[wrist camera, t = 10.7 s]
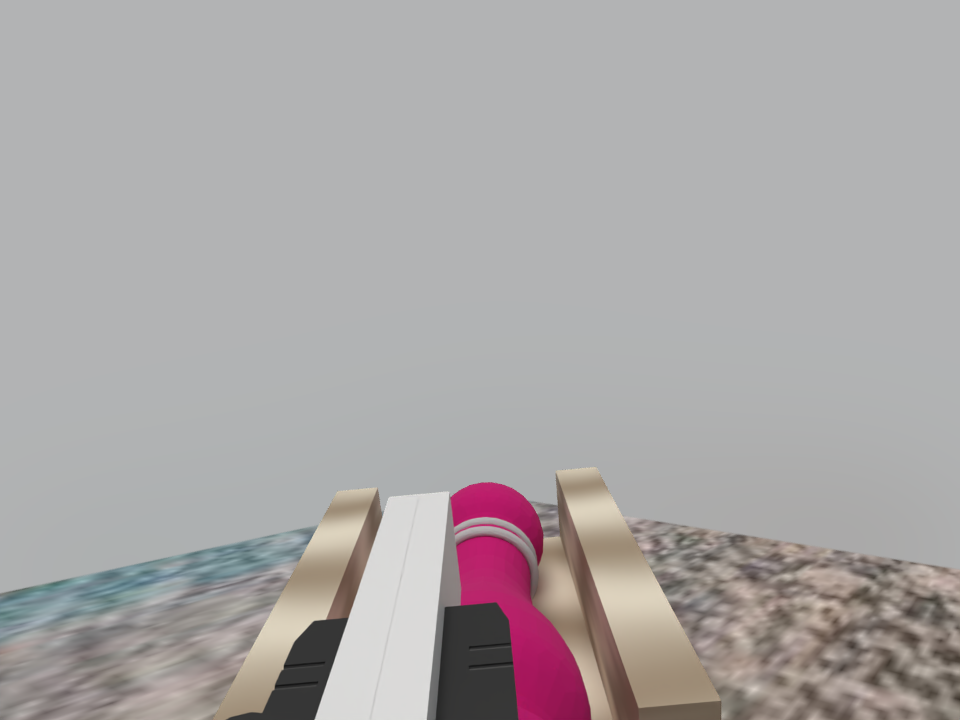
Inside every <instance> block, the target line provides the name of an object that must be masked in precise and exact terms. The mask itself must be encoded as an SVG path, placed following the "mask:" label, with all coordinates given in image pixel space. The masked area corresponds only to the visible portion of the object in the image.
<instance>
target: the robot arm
mask: <svg viewBox="0 0 960 720" xmlns="http://www.w3.org/2000/svg"><path fill="white" fill-rule="evenodd" d="M460 605H461V583H460V575H459V566H458V558H457V550H456V541H455V533H454V524H453V516H452V508H451V499H450V492H449V491H448V492H437V493H428V494H416V495H406V496H395V497H389V499H388V502H387V505H386V508H385V511H384V514H383V517H382V520H381V523H380V526H379V529H378V532H377V535H376V538H375V541H374V544H373V547H372V550H371V553H370V556H369V559H368V562H367V565H366V568H365V571H364V574H363V577H362V580H361V583H360V586H359V589H358V592H357V595H356V598H355V601H354V604H353V607H352V610H351V613H350V616H349V618H339V619H328V620H317V621H313V622H312V623H311V624H310V625H309V627H308V628H307V629H306V630H305V631H304V632H303V633H302V634H301V635H300V636H299V637H298V638H297V639H296V640H295V641H294V643H293V645H292V648H291V650H290V652H289V654H288V657H287V659H286V661H285V663H284V669H283V670H281V672H280V674H279V677H278V679H277V681H276V683H275V689H274V690H272V692H271V694H270V697H269V699H268V701H267V703H266V705H265V708H264V710H263V712H262V713H257V712H249V713H245V714H241V715H237V716H233V717H230V718H228V719H226V720H519V718H518V707H517V696H516V686H515V675H514V665H513V655H512V645H511V635H510V624H509V619H508V618H507V616H506V615H505V614H504V612H503V611H502V609H501V608H500V606H499V605H498V604H497V602H493V603H482V604H472V605H461V606H460Z"/></svg>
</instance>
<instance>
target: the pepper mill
mask: <svg viewBox="0 0 960 720" xmlns="http://www.w3.org/2000/svg"><path fill="white" fill-rule="evenodd" d="M450 499H451V508H452V516H453V524H454V533H455V541H456V550H457V558H458V566H459V575H460V583H461V605H472V604H482V603H493V602H497V604H498V605H499V606H500V608H501V609H502V611H503V612H504V614H505V615H506V616H507V618H508V619H509V624H510V635H511V645H512V655H513V665H514V675H515V686H516V696H517V707H518V718H519V720H591V708H590V704H589V699H588V695H587V692H586V688H585V685H584V682H583V679H582V676H581V672H580V669H579V667H578V665H577V662H576V660H575V658H574V656H573V654H572V652H571V651H570V649H569V647H568V646H567V644H566V643H565V641H564V639H563V638H562V636H561V635H560V634H559V632H558V631H557V630H556V628H555V627H554V626H553V624H552V623H551V622H550V621H549V620H548V619H547V618H546V617H545V616H544V615H543V614H542V613H541V612H540V611H539V610H538V609H536V608H535V607H534V606H533V604H532V599H533V597H534V595H535V593H536V590H537V587H538V579H539V570H538V566H539V564H540V561H541V558H542V554H543V530H542V527H541V523H540V520H539V517H538V515H537V513H536V511H535V510H534V508H533V507H532V505H531V504H530V503H529V502H528V501H527V499H526V498H525V497H524V496H523V495H521V494H520V493H518V492H517V491H516V490H514V489H512V488H510V487H507V486H505V485H502V484H497V483H492V482H491V483H490V482H488V483H478V484H473V485H469V486H467V487H465V488H463V489H461V490H460V491H458V492H457V493H455V494H454V495H453V496H452V497H451V498H450ZM461 605H460V606H461Z"/></svg>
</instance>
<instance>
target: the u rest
mask: <svg viewBox="0 0 960 720" xmlns="http://www.w3.org/2000/svg"><path fill="white" fill-rule="evenodd" d="M556 485H557V499H558V513H559V528H560V537H551V538H543V554H542V558H541V561H540V564H539V566H538V570H539V579H538V587H537V590H536V593H535V595H534V597H533V599H532V604H533V606H534V607H535V608H536V609H538V610H539V611H540V612H541V613H542V614H543V615H544V616H545V617H546V618H547V619H548V620H549V621H550V622H551V623H552V624H553V626H554V627H555V628H556V630H557V631H558V632H559V634H560V635H561V636H562V638H563V639H564V641H565V643H566V644H567V646H568V647H569V649H570V651H571V652H572V654H573V656H574V658H575V660H576V662H577V665H578V667H579V669H580V672H581V676H582V679H583V682H584V685H585V688H586V692H587V695H588V699H589V704H590V708H591V720H721V699H720V697H719V696H718V694H717V692H716V690H715V688H714V686H713V684H712V682H711V681H710V679H709V677H708V675H707V673H706V671H705V669H704V668H703V666H702V664H701V662H700V660H699V658H698V656H697V654H696V653H695V651H694V649H693V647H692V645H691V643H690V641H689V640H688V638H687V636H686V634H685V632H684V630H683V628H682V626H681V625H680V623H679V621H678V619H677V617H676V615H675V613H674V612H673V610H672V608H671V606H670V604H669V602H668V600H667V598H666V597H665V595H664V593H663V591H662V589H661V587H660V585H659V584H658V582H657V580H656V578H655V576H654V574H653V572H652V570H651V569H650V567H649V565H648V563H647V561H646V559H645V557H644V556H643V554H642V552H641V550H640V548H639V546H638V544H637V542H636V541H635V539H634V537H633V535H632V533H631V531H630V529H629V528H628V526H627V524H626V522H625V520H624V518H623V516H622V515H621V513H620V511H619V509H618V507H617V505H616V503H615V501H614V500H613V498H612V496H611V494H610V492H609V491H608V488H607V486H606V485H605V483H604V481H603V479H602V477H601V475H600V473H599V472H598V470H597V468H596V467H591V468H581V469H570V470H559V471H556ZM381 520H382V513H381V506H380V499H379V493H378V488H369V489H358V490H347V491H338V492H337V493H336V495H335V497H334V499H333V501H332V503H331V504H330V506H329V508H328V510H327V512H326V513H325V515H324V517H323V519H322V521H321V523H320V524H319V526H318V528H317V530H316V532H315V533H314V535H313V537H312V539H311V541H310V543H309V544H308V546H307V548H306V550H305V552H304V554H303V555H302V557H301V559H300V561H299V563H298V564H297V566H296V568H295V570H294V572H293V574H292V575H291V577H290V579H289V581H288V583H287V585H286V586H285V588H284V590H283V592H282V594H281V596H280V597H279V599H278V601H277V603H276V605H275V607H274V608H273V610H272V612H271V614H270V616H269V617H268V619H267V621H266V623H265V625H264V627H263V628H262V630H261V632H260V634H259V636H258V638H257V639H256V641H255V643H254V645H253V647H252V649H251V650H250V652H249V654H248V656H247V658H246V660H245V661H244V663H243V665H242V667H241V669H240V670H239V672H238V674H237V676H236V678H235V680H234V681H233V683H232V685H231V687H230V689H229V691H228V692H227V694H226V696H225V698H224V700H223V702H222V703H221V705H220V707H219V709H218V711H217V713H216V714H215V716H214V718H213V720H226V719H228V718H230V717H233V716H237V715H241V714H245V713H249V712H257V713H262V712H263V710H264V708H265V705H266V703H267V701H268V699H269V697H270V694H271V692H272V690H274V689H275V683H276V681H277V679H278V677H279V674H280V672H281V670H283V669H284V663H285V661H286V659H287V657H288V654H289V652H290V650H291V648H292V645H293V643H294V641H295V640H296V639H297V638H298V637H299V636H300V635H301V634H302V633H303V632H304V631H305V630H306V629H307V628H308V627H309V625H310V624H311V623H312V622H313V621H317V620H328V619H339V618H349V616H350V613H351V610H352V607H353V604H354V601H355V598H356V595H357V592H358V589H359V586H360V583H361V580H362V577H363V574H364V571H365V568H366V565H367V562H368V559H369V556H370V553H371V550H372V547H373V544H374V541H375V538H376V535H377V532H378V529H379V526H380V523H381Z"/></svg>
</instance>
